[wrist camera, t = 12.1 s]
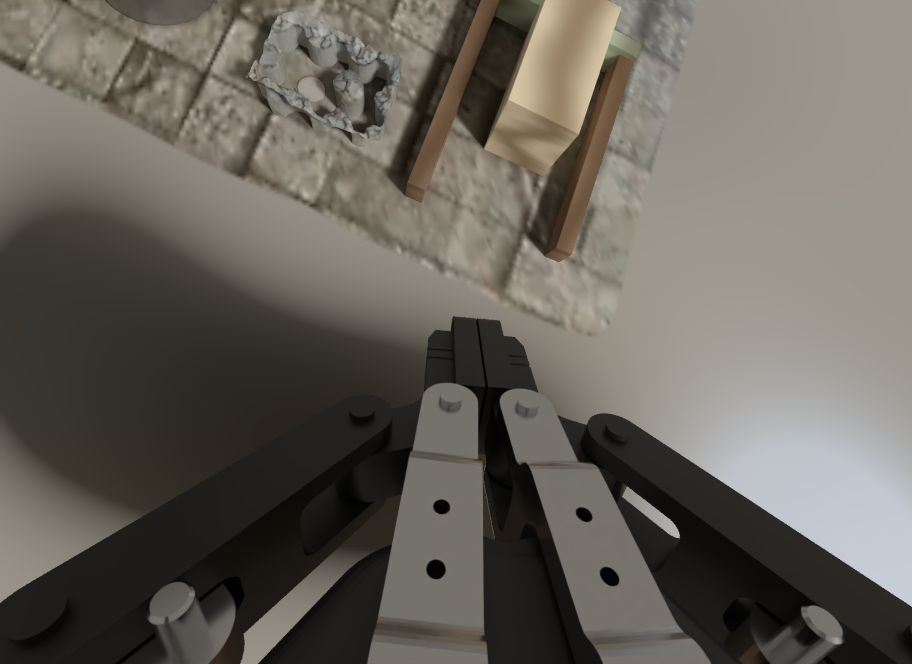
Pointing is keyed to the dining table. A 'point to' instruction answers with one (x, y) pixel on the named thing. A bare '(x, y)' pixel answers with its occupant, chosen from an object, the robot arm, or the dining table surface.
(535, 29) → the maple block
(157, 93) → the dining table surface
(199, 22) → the dining table surface
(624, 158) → the dining table surface
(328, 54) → the egg carton
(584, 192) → the wooden tray frame
